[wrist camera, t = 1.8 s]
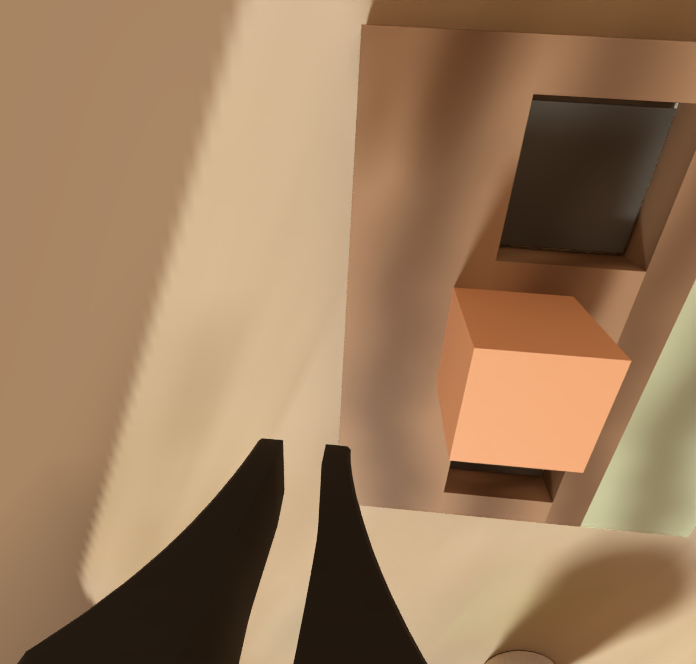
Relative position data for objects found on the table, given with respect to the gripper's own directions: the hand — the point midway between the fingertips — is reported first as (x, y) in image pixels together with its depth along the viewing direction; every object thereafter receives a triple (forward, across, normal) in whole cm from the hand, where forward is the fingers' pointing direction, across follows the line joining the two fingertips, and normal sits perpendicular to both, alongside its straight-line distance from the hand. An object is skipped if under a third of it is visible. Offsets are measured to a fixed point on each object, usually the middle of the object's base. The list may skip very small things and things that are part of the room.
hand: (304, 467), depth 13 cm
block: (+8, -8, 0) cm, 11 cm away
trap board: (+10, -10, 0) cm, 15 cm away
